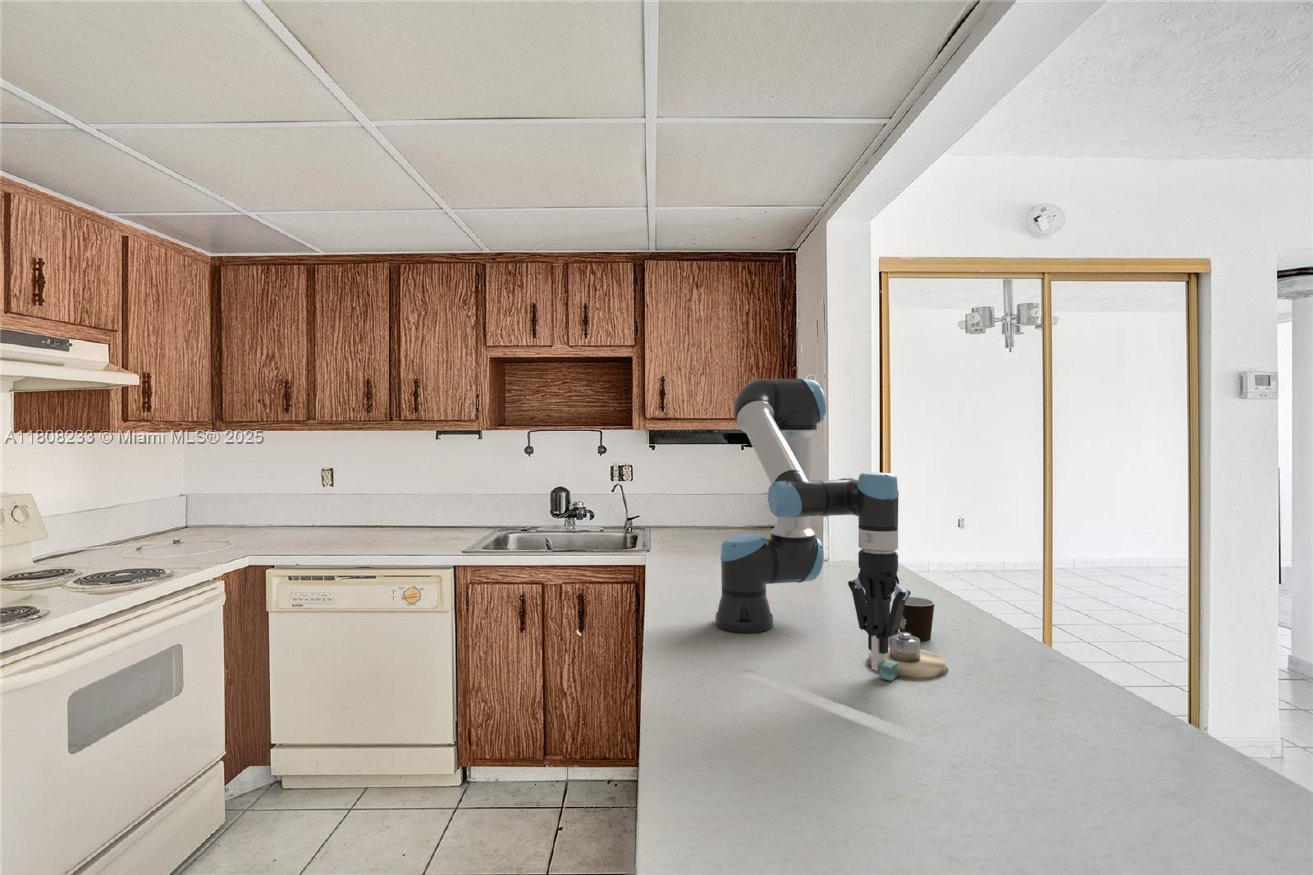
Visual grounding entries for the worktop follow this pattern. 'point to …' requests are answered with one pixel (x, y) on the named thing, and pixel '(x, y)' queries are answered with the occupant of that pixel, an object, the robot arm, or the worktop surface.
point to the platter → (911, 667)
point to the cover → (904, 648)
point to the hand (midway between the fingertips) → (878, 668)
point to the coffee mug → (917, 618)
